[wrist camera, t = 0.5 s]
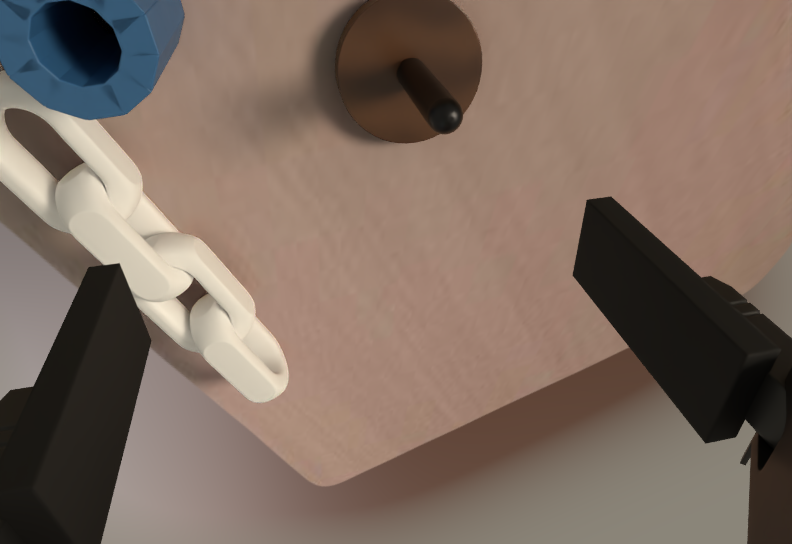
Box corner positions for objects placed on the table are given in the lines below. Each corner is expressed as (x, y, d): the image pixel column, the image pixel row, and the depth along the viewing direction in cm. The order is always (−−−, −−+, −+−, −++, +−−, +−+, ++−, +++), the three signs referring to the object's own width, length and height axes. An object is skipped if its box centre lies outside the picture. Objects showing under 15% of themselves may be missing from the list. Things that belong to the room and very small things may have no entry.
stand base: (323, -3, 34) (325, 1, 33) (475, -23, 35) (482, -20, 34) (346, 145, 40) (348, 154, 39) (475, 124, 41) (482, 131, 40)
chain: (305, 344, 50) (309, 393, 46) (248, 372, 51) (246, 424, 46) (45, 42, 33) (6, 70, 28) (-36, 92, 33) (-89, 128, 29)
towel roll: (35, -53, 30) (-48, -30, 22) (160, -68, 31) (124, -51, 23) (87, 72, 34) (33, 129, 26) (197, 56, 35) (177, 107, 27)
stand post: (395, 59, 36) (430, 106, 28) (424, 55, 36) (467, 100, 29) (398, 90, 37) (432, 142, 30) (426, 85, 37) (467, 136, 30)
